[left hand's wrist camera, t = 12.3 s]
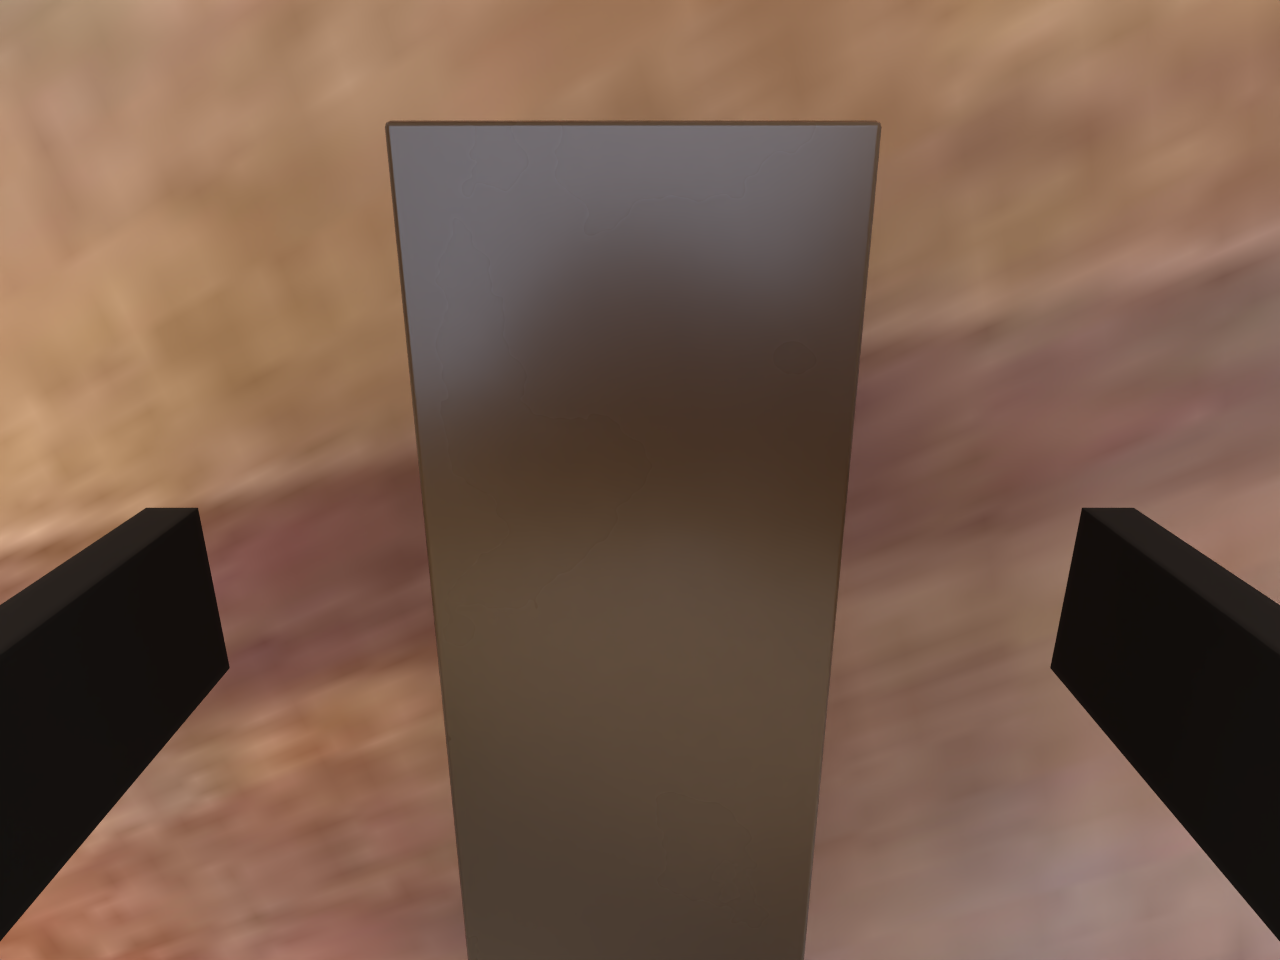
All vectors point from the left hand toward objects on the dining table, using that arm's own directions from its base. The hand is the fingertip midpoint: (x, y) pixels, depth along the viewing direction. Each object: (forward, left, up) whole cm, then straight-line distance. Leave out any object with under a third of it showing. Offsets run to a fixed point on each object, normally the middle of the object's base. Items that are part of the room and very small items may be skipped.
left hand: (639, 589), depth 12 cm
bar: (-25, +11, -5) cm, 28 cm away
